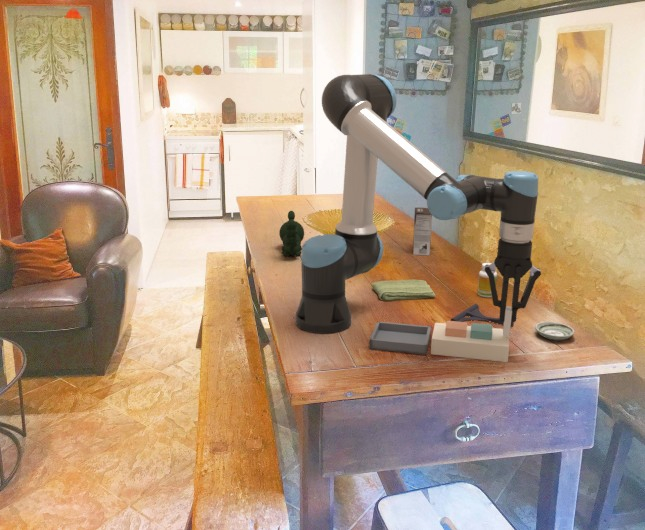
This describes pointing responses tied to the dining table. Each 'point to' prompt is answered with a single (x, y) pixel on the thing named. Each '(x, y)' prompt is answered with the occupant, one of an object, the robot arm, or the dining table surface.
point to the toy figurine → (291, 236)
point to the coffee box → (422, 231)
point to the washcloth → (402, 290)
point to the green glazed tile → (481, 331)
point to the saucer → (554, 330)
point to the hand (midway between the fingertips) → (506, 333)
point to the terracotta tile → (456, 329)
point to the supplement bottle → (485, 282)
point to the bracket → (476, 316)
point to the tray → (400, 338)
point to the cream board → (470, 345)
